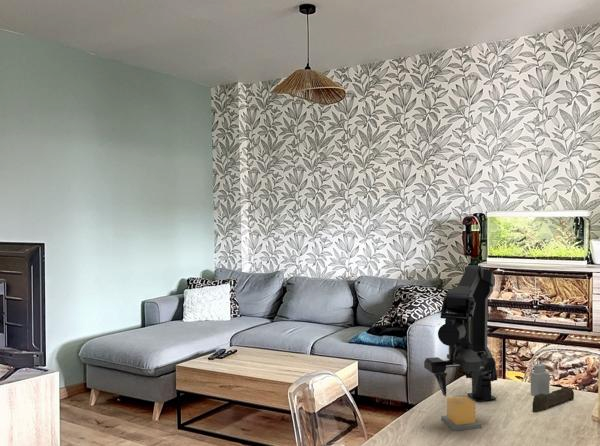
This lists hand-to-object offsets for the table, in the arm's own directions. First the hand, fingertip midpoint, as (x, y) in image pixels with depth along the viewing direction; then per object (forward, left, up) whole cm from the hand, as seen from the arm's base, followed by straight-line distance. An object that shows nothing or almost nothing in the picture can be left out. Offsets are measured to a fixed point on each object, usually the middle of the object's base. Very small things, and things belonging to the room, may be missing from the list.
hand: (460, 394), depth 154 cm
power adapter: (-16, +35, -8) cm, 40 cm away
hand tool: (-7, +33, -9) cm, 35 cm away
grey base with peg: (0, 0, -8) cm, 8 cm away
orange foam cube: (0, 0, -7) cm, 7 cm away
